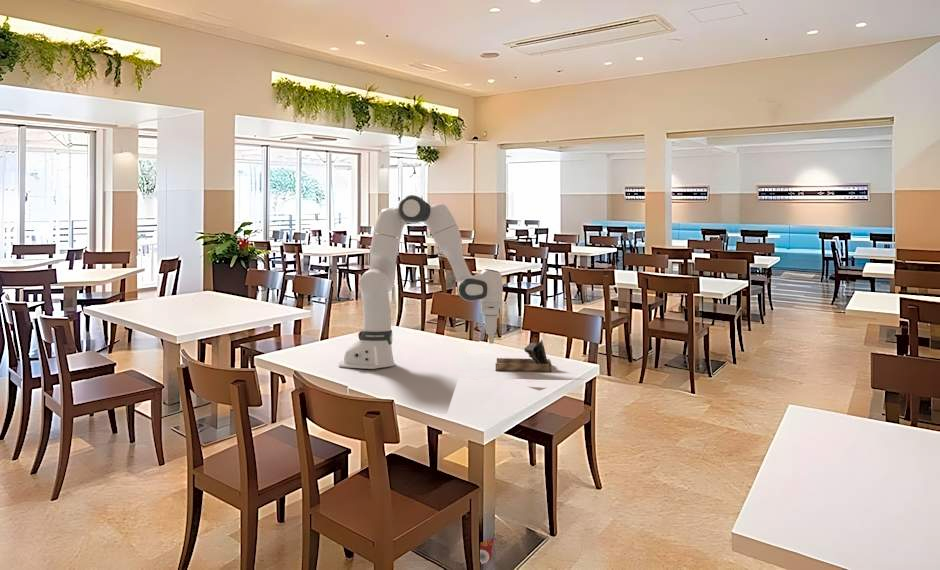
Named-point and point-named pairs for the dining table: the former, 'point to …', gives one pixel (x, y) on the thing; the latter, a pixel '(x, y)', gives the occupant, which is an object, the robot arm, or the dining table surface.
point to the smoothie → (487, 549)
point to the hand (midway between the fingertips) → (491, 343)
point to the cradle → (522, 365)
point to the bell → (537, 352)
